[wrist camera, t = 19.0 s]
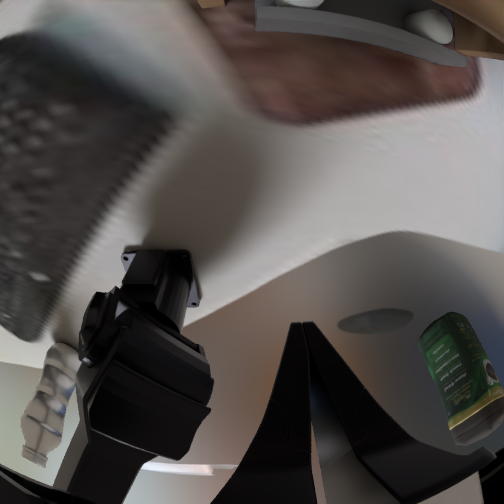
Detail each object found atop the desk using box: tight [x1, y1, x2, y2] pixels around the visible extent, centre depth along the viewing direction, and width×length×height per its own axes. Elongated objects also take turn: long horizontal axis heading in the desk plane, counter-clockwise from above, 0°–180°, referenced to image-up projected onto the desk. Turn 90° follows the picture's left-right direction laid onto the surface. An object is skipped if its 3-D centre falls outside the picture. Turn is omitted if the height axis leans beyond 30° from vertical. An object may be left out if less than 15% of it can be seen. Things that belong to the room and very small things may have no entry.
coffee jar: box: [418, 312, 504, 446], centre depth 24 cm, size 10×8×19 cm
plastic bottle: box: [21, 343, 82, 468], centre depth 25 cm, size 6×7×20 cm
